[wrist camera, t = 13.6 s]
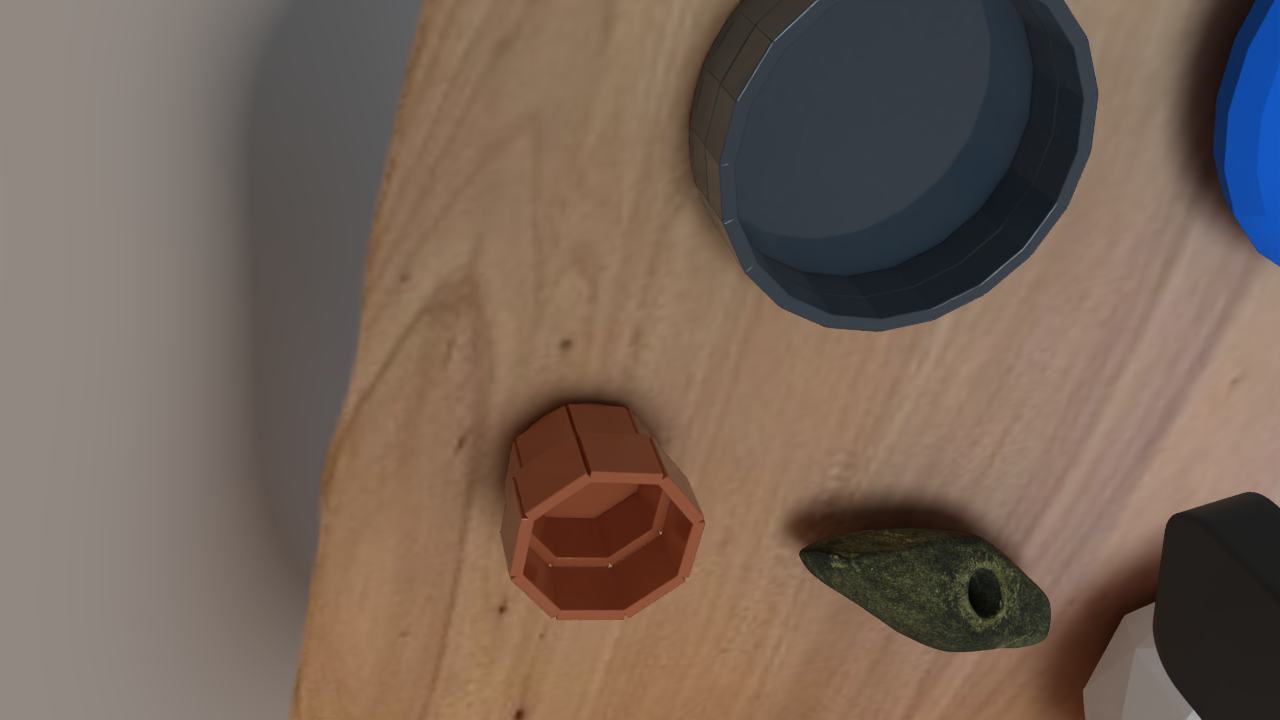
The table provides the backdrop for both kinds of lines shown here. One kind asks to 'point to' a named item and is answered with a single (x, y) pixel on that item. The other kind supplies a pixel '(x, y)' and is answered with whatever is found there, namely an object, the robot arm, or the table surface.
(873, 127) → the slate bowl
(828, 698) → the table surface
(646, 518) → the terracotta bowl
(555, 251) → the table surface
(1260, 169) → the blue dish
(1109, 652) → the geodesic sphere
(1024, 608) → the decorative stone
